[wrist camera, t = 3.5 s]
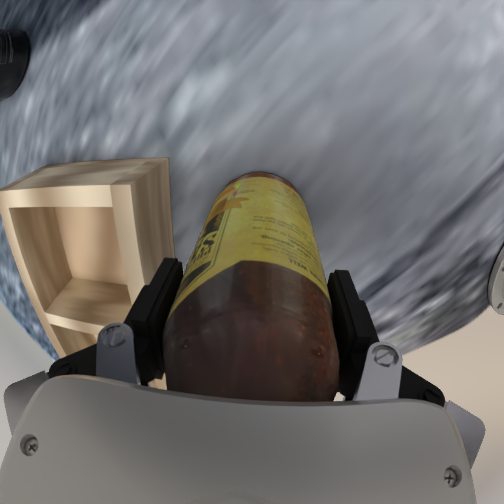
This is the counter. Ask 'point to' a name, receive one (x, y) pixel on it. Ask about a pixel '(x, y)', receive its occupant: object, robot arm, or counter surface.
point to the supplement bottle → (12, 60)
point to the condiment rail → (88, 242)
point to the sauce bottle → (254, 302)
